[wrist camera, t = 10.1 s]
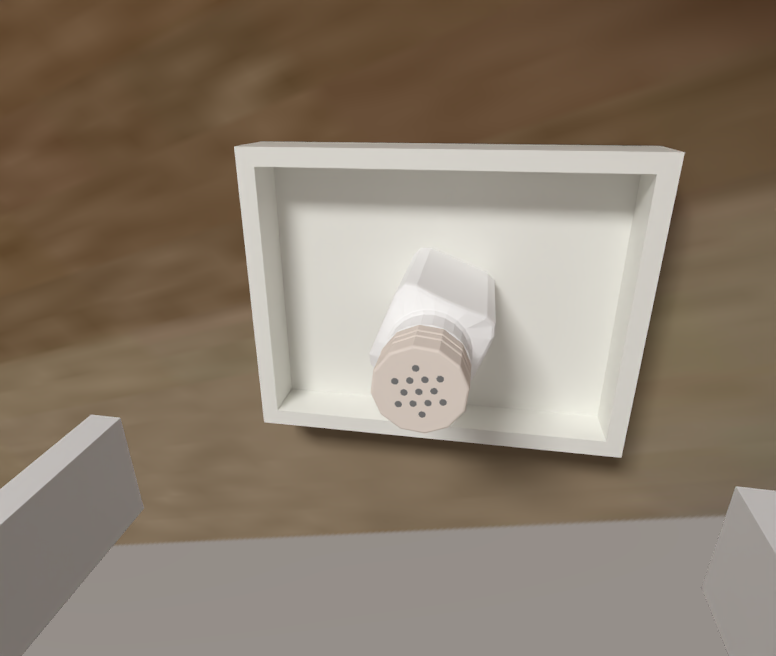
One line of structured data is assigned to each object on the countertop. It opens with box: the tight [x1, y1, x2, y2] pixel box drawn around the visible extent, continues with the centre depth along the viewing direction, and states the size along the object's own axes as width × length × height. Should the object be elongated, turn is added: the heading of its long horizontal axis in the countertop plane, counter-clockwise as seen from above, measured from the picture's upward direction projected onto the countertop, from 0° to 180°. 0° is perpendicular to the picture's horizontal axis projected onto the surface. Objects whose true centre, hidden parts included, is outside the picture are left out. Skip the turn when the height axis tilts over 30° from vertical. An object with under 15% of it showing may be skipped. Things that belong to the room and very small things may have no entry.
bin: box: [234, 142, 685, 458], centre depth 25 cm, size 14×18×3 cm
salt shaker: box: [369, 248, 496, 433], centre depth 21 cm, size 4×4×10 cm
